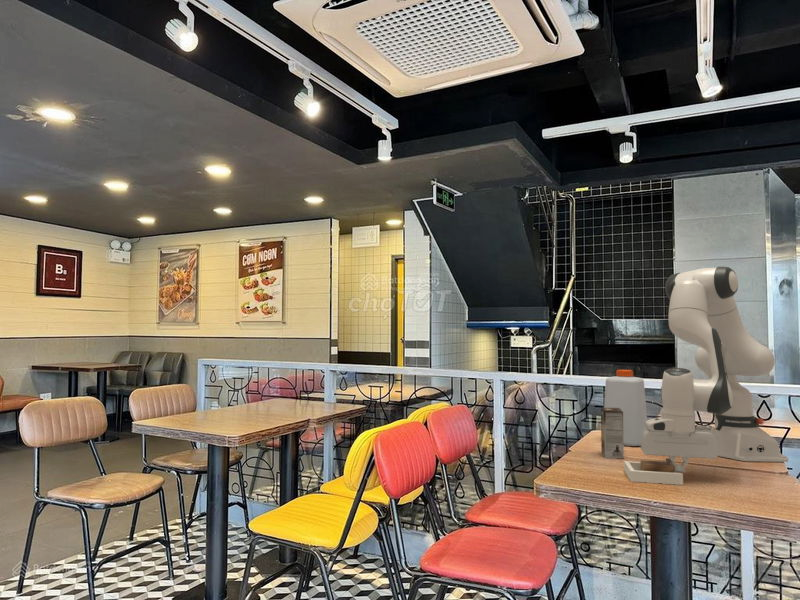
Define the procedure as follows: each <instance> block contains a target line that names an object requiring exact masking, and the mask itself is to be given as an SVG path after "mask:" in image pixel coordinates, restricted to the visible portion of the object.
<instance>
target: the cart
mask: <svg viewBox="0 0 800 600" xmlns="http://www.w3.org/2000/svg"><path fill="white" fill-rule="evenodd" d="M639 462H641V471H654V472H670V473H675V472H674V466H673V462H672V461H671V460H670V459H669V457H666V458H665V460H663V461H662V460H646V459H640V460H639Z"/></svg>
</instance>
